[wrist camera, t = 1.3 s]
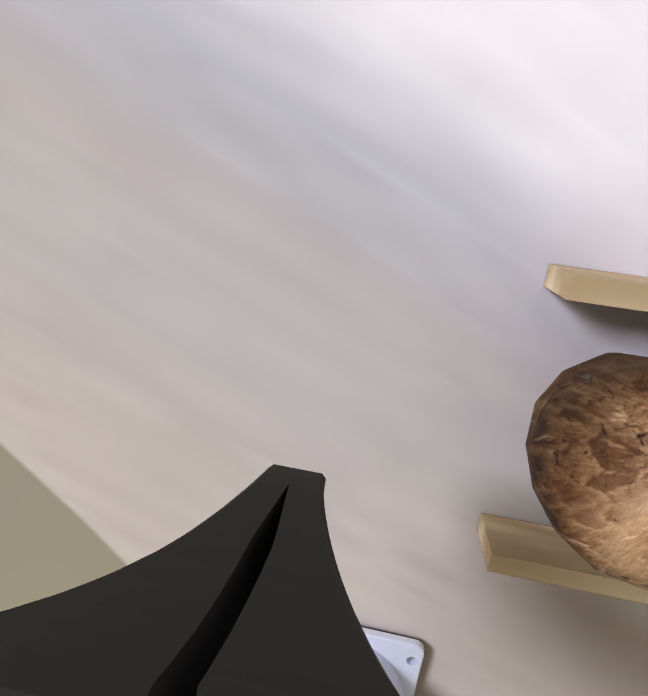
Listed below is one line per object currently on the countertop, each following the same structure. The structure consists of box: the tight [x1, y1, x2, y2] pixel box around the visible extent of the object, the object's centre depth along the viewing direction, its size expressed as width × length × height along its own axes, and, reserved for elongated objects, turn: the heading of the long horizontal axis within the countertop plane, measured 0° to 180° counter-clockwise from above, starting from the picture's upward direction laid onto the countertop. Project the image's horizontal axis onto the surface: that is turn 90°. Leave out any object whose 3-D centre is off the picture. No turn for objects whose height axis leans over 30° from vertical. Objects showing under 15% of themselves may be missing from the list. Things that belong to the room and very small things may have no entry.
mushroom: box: [526, 353, 648, 590], centre depth 16 cm, size 8×8×6 cm
